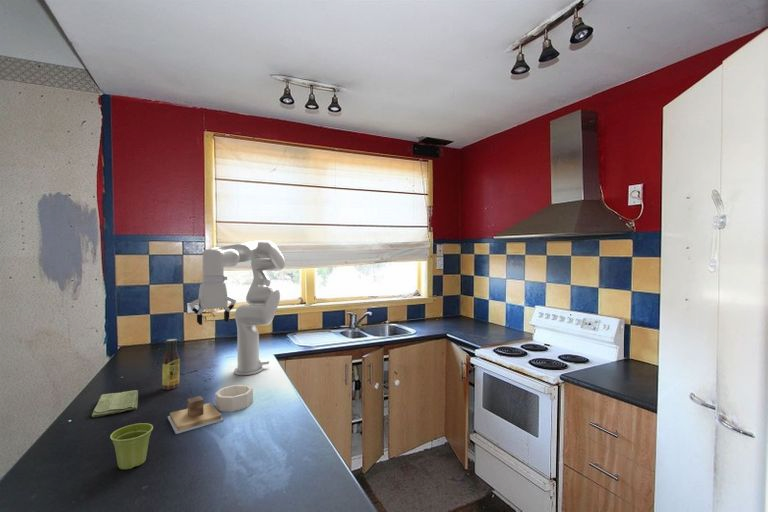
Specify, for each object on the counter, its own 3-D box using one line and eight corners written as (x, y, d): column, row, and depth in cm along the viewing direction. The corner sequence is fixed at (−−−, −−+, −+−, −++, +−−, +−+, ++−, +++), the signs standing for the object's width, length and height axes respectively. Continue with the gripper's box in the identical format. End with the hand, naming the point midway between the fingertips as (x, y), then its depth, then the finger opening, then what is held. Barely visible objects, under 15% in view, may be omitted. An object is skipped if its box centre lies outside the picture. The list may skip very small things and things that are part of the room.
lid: (210, 405, 131) (210, 389, 131) (221, 418, 121) (221, 400, 121) (169, 416, 123) (169, 398, 123) (177, 430, 113) (177, 411, 113)
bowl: (245, 395, 142) (245, 382, 142) (256, 405, 133) (256, 391, 133) (212, 403, 135) (212, 390, 135) (222, 414, 126) (221, 400, 125)
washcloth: (90, 420, 122) (90, 411, 122) (99, 401, 137) (99, 393, 137) (137, 412, 129) (137, 403, 129) (140, 395, 144) (140, 386, 144)
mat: (211, 406, 132) (211, 405, 132) (223, 420, 121) (223, 418, 121) (167, 418, 123) (167, 416, 123) (175, 434, 112) (175, 432, 112)
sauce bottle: (171, 391, 147) (171, 342, 146) (158, 389, 148) (158, 341, 148) (183, 385, 153) (183, 338, 153) (170, 384, 154) (170, 337, 154)
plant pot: (124, 454, 101) (124, 423, 101) (160, 452, 102) (159, 422, 102) (101, 474, 92) (101, 441, 92) (140, 473, 92) (140, 439, 92)
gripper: (232, 278, 152) (232, 319, 152) (187, 280, 141) (187, 324, 141) (238, 279, 146) (238, 321, 147) (191, 281, 135) (191, 327, 136)
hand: (213, 322), depth 144 cm, fingers open, 9 cm apart
